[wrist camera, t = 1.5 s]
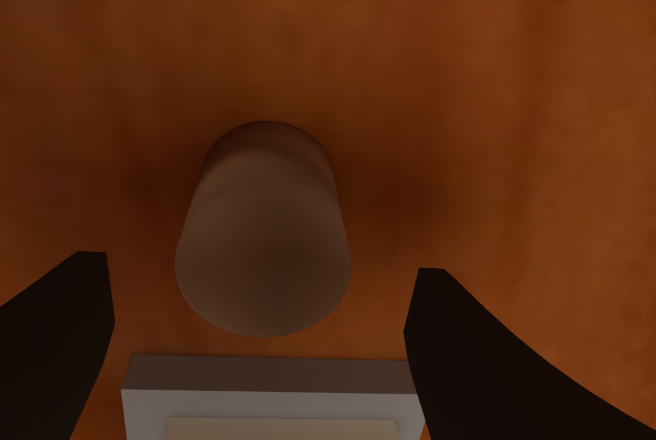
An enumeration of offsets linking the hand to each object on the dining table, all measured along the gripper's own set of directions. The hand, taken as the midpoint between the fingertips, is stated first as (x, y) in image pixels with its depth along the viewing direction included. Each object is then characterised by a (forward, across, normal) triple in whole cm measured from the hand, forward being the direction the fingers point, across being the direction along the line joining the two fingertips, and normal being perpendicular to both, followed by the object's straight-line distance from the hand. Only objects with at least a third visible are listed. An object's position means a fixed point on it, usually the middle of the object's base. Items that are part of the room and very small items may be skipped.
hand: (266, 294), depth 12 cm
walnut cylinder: (+6, 0, 0) cm, 6 cm away
